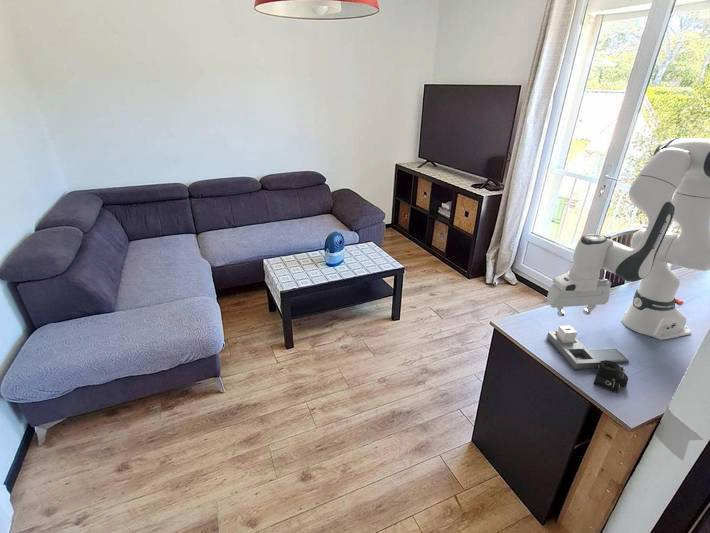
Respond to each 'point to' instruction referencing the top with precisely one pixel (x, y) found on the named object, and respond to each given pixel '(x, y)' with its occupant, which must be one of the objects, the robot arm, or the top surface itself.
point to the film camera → (610, 376)
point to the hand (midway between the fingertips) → (573, 314)
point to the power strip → (574, 353)
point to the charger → (566, 334)
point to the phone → (609, 355)
